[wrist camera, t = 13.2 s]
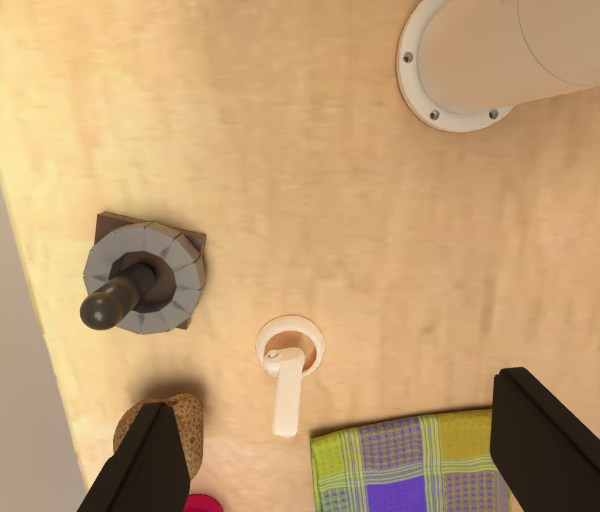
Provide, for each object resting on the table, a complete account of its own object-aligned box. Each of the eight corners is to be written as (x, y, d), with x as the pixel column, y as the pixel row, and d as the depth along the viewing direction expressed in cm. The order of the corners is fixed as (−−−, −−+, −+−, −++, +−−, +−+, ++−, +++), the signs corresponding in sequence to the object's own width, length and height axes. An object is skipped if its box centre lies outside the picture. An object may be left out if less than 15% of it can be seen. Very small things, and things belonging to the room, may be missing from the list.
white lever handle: (257, 450, 38) (231, 434, 32) (268, 342, 45) (249, 314, 40) (329, 450, 36) (314, 434, 31) (328, 338, 44) (316, 309, 38)
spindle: (104, 211, 36) (24, 237, 25) (206, 235, 37) (172, 270, 26) (94, 304, 38) (16, 365, 27) (189, 323, 39) (152, 390, 28)
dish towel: (307, 423, 43) (308, 441, 41) (509, 401, 44) (524, 417, 41) (318, 534, 48) (321, 557, 45) (501, 514, 48) (514, 535, 46)
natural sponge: (131, 434, 43) (86, 515, 33) (137, 368, 41) (91, 434, 31) (209, 444, 44) (187, 526, 34) (219, 380, 41) (200, 449, 32)
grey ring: (114, 205, 34) (101, 209, 32) (219, 247, 36) (215, 253, 33) (85, 301, 37) (71, 311, 34) (185, 336, 38) (179, 348, 36)
